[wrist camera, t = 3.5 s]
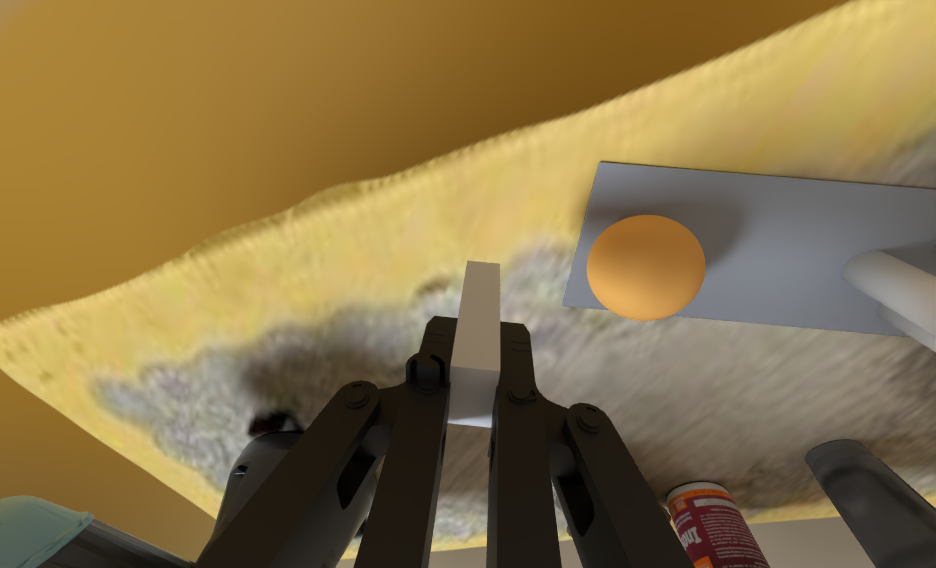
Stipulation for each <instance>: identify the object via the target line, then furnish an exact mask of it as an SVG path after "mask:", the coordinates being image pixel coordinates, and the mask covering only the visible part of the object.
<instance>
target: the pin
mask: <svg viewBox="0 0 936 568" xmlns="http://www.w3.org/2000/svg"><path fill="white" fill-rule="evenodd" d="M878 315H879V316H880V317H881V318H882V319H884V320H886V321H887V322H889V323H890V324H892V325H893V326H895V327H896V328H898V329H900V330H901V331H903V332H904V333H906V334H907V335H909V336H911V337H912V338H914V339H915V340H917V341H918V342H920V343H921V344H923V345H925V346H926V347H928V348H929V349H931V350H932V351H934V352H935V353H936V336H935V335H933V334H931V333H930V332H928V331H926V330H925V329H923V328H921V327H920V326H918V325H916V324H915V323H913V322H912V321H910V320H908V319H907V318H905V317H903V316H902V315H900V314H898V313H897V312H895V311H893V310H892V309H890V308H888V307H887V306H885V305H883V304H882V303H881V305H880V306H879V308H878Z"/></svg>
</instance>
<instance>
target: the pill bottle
mask: <svg viewBox="0 0 936 568" xmlns="http://www.w3.org/2000/svg"><path fill="white" fill-rule="evenodd" d="M667 506H668V509H669V511H670V514H671V516H672V519H673V521H674V524H675V526H676V529H677V532H678V534H679V536H680V539H681V541H682V544H683V547H684V549H685V551H686V552H687V554H688V556H689V558H690V559H691V561H692V563H693V564H694V566H695V568H770V566H769V565H768V563H767V561H766V559H765V557H764V555H763V554H762V552H761V550H760V548H759V546H758V544H757V543H756V541H755V539H754V537H753V535H752V533H751V532H750V530H749V528H748V526H747V524H746V522H745V521H744V519H743V517H742V515H741V513H740V512H739V510H738V508H737V506H736V504H735V502H734V501H733V499H732V497H731V496H730V494H729V493H728V491H727V490H726V489H725V488H723V487H721V486H719V485H717V484H714V483H709V482H697V483H690V484H686V485H683V486H680V487H678V488H676V489H674V490H673V491H671V492H670V494H669V495H668V497H667Z"/></svg>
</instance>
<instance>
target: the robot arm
mask: <svg viewBox="0 0 936 568" xmlns="http://www.w3.org/2000/svg"><path fill="white" fill-rule="evenodd" d="M447 423H452V424H461V425H471V426H480V427H489V428H491V425H492V429H491V439H490V445H489V451H488V457H489V487H488V522H487V558H486V568H562V566H561V557H560V549H559V541H558V532H557V524H556V516H555V508H554V499H553V491H552V483H551V479H552V482H553V484H554V487H555V490H556V493H557V496H558V499H559V501H560V504H561V507H562V510H563V513H564V515H565V518H566V521H567V524H568V527H569V529H570V532H571V535H572V538H573V541H574V543H575V546H576V549H577V552H578V555H579V557H580V560H581V563H582V566H583V568H695V566H694V564H693V563H692V561H691V559H690V558H689V556H688V554H687V552H686V551H685V549H684V547H683V546H682V544H681V542H680V540H679V539H678V537H677V535H676V533H675V531H674V530H673V528H672V526H671V524H670V523H669V521H668V519H667V518H666V516H665V514H664V512H663V511H662V509H661V507H660V505H659V504H658V502H657V500H656V498H655V497H654V495H653V493H652V491H651V490H650V488H649V486H648V484H647V483H646V481H645V479H644V478H643V476H642V474H641V472H640V471H639V469H638V467H637V465H636V464H635V462H634V460H633V458H632V457H631V455H630V453H629V451H628V450H627V448H626V446H625V444H624V443H623V441H622V439H621V438H620V436H619V434H618V432H617V431H616V429H615V427H614V425H613V424H612V422H611V420H610V419H609V418H608V416H607V415H606V414H605V413H604V412H603V411H602V410H600V409H599V408H598V407H596V406H593V405H590V404H587V403H578V404H574V405H572V406H571V407H570V408H569V409H567V408H565V407H562V406H560V405H557V404H555V403H553V402H551V401H549V400H547V399H546V398H545V397H543V395H542V394H541V393H540V392H539V390H538V389H537V387H536V383H535V376H534V367H533V358H532V349H531V341H530V333H529V331H528V330H527V328H526V327H525V326H524V324H519V323H509V322H500V264H497V263H486V262H475V261H467V266H466V273H465V279H464V285H463V291H462V297H461V303H460V309H459V316H458V318H450V317H440V316H434V317H433V318H432V319H431V320H430V321H429V322H428V323H427V326H426V329H425V333H424V336H423V340H422V344H421V347H420V351H419V353H417V354H415V355H413V356H412V357H411V358H409V360H408V361H407V363H406V381H405V382H404V383H402V384H400V385H398V386H395V387H391V388H385V389H379V390H378V388H377V387H376V385H374V384H372V383H371V382H368V381H355V382H351V383H349V384H347V385H345V386H343V387H342V388H341V389H340V390H339V391H338V392H337V393H336V394H335V395H334V397H333V398H332V399H331V400H330V402H329V403H328V404H327V405H326V406H325V408H324V409H323V410H322V411H321V413H320V414H319V415H318V416H317V417H316V419H315V420H314V421H313V422H312V424H311V425H310V426H309V427H308V428H307V430H306V431H305V432H304V433H303V434H298V433H275V434H269V435H265V436H261V437H259V438H256V439H255V440H253V441H251V442H250V443H249V444H248V445H247V446H246V447H245V449H244V450H243V452H242V453H241V455H240V456H239V458H238V459H237V461H236V462H235V464H234V465H233V468H232V470H231V472H230V476H229V479H228V482H227V486H226V489H225V493H224V496H223V499H222V503H221V506H220V509H219V513H218V516H217V520H216V523H215V526H214V530H213V533H212V535H211V537H210V539H209V541H208V543H207V544H206V546H205V548H204V549H203V551H202V553H201V555H200V556H199V558H198V559H197V561H196V563H194V562H192V561H190V560H188V559H186V558H183V557H181V556H179V555H177V554H174V553H172V552H170V551H167V550H165V549H163V548H161V547H158V546H156V545H154V544H151V543H149V542H147V541H144V540H142V539H140V538H137V537H135V536H133V535H131V534H129V533H126V532H124V531H122V530H119V529H117V528H115V527H113V526H110V525H108V524H106V523H103V522H101V521H99V520H96V519H94V516H93V515H92V514H91V513H89V512H80V513H78V512H76V511H73V510H70V509H67V508H65V507H62V506H59V505H56V504H54V503H51V502H48V501H46V500H43V499H40V498H37V497H32V496H14V497H9V498H4V499H1V500H0V568H336V565H337V564H338V562H339V560H340V559H341V557H342V555H343V554H344V552H345V550H346V549H347V547H348V546H349V544H350V542H351V541H352V539H353V537H354V536H355V534H356V532H357V531H358V529H359V527H360V526H361V524H362V522H363V521H364V519H365V518H366V516H367V514H368V512H369V510H370V512H369V516H368V519H367V523H366V526H365V530H364V533H363V536H362V540H361V543H360V547H359V550H358V554H357V557H356V561H355V564H354V568H428V565H429V558H430V551H431V543H432V536H433V529H434V522H435V515H436V508H437V500H438V493H439V486H440V479H441V472H442V465H443V457H444V450H445V443H446V431H447ZM383 455H386V456H385V460H384V463H383V467H382V470H381V474H380V477H379V481H378V484H377V480H376V477H375V474H374V472H375V470H376V468H377V466H378V465H379V463H380V461H381V459H382V458H383ZM376 487H377V488H376ZM370 508H371V509H370Z"/></svg>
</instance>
